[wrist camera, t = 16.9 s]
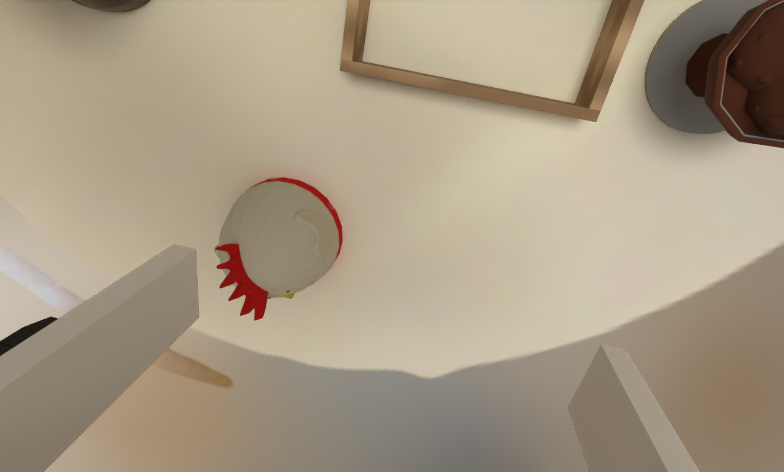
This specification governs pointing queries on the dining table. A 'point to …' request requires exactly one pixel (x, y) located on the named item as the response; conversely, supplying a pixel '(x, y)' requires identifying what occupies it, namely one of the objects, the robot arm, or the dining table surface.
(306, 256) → the kitchen timer
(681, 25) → the coaster
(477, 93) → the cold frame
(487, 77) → the dining table surface
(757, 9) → the ice cream bowl
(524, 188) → the dining table surface
